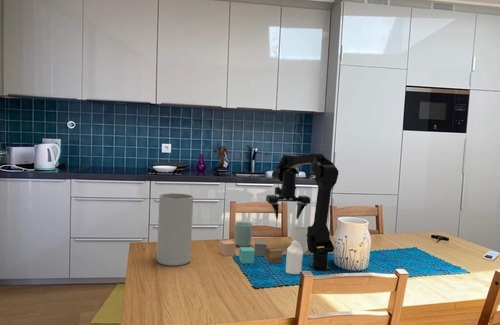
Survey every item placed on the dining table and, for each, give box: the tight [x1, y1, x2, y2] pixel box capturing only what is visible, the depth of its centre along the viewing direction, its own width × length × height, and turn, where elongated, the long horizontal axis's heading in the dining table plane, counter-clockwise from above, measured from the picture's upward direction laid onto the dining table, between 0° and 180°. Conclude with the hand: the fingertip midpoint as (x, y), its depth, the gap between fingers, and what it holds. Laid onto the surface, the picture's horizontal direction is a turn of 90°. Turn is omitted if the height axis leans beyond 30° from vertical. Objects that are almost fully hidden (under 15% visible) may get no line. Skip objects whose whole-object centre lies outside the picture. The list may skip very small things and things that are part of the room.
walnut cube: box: [264, 246, 283, 264], centre depth 158 cm, size 5×5×5 cm
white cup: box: [291, 225, 309, 254], centre depth 174 cm, size 8×8×10 cm
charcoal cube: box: [254, 240, 268, 257], centre depth 166 cm, size 5×5×5 cm
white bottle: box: [285, 241, 304, 275], centre depth 146 cm, size 6×12×6 cm
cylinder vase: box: [156, 192, 194, 267], centre depth 150 cm, size 12×12×25 cm
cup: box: [234, 221, 253, 248], centre depth 176 cm, size 8×8×10 cm
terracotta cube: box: [218, 239, 237, 257], centre depth 164 cm, size 5×5×5 cm
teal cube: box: [238, 246, 255, 265], centre depth 156 cm, size 5×5×5 cm
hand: (287, 218), depth 174 cm, fingers open, 9 cm apart
